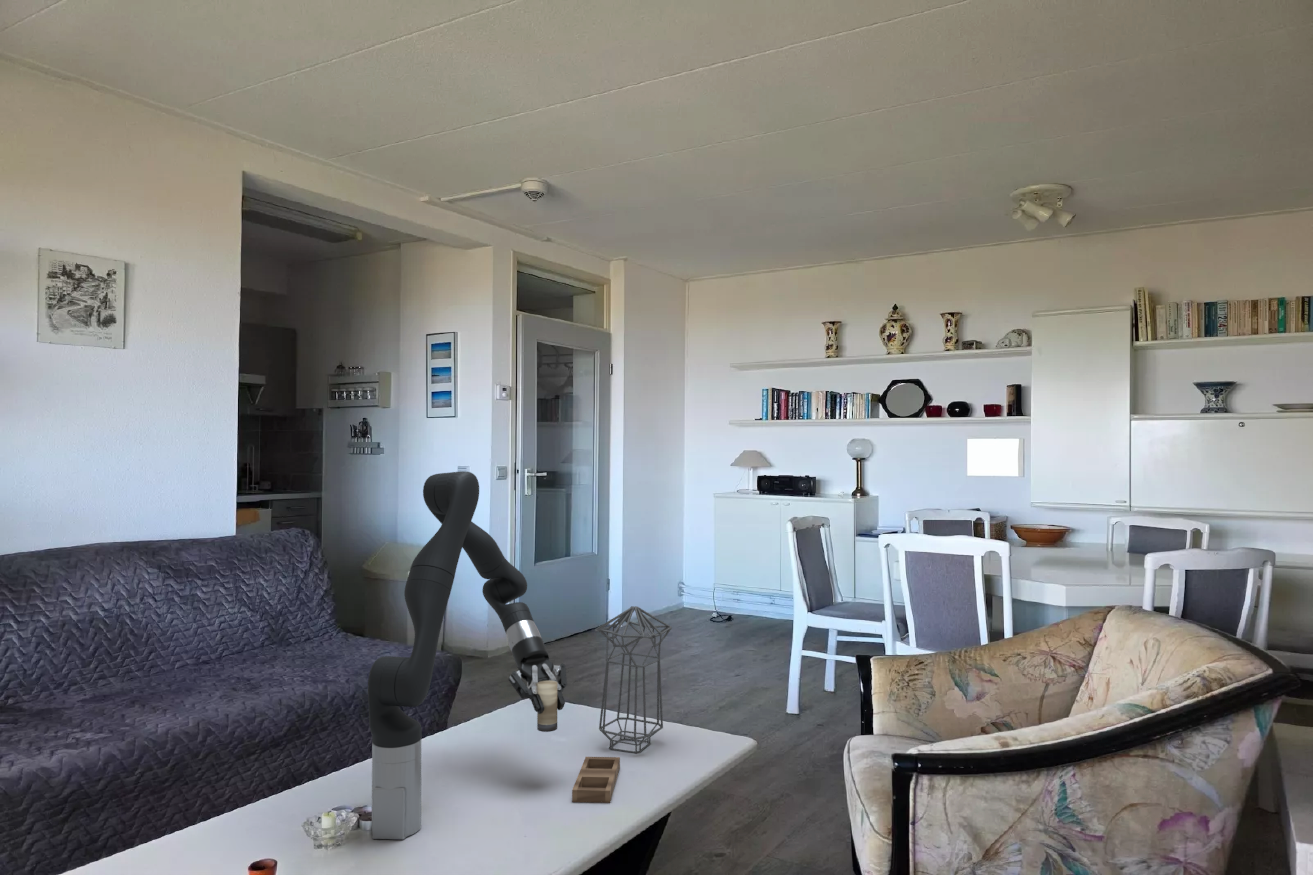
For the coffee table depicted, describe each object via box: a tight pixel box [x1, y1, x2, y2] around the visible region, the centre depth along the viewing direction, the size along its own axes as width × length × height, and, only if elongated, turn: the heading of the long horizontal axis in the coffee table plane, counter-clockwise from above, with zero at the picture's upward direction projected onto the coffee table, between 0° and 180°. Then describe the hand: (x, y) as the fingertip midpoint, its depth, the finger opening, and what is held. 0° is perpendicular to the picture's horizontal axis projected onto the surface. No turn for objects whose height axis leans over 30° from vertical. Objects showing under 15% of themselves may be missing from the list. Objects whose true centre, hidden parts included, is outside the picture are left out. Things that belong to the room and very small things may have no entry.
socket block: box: [571, 756, 621, 804], centre depth 189 cm, size 20×8×2 cm, turn 177°
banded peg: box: [536, 680, 558, 733], centre depth 189 cm, size 4×4×10 cm
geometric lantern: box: [594, 606, 673, 754], centre depth 214 cm, size 16×16×35 cm
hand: (551, 709), depth 187 cm, fingers closed on banded peg, 4 cm apart
